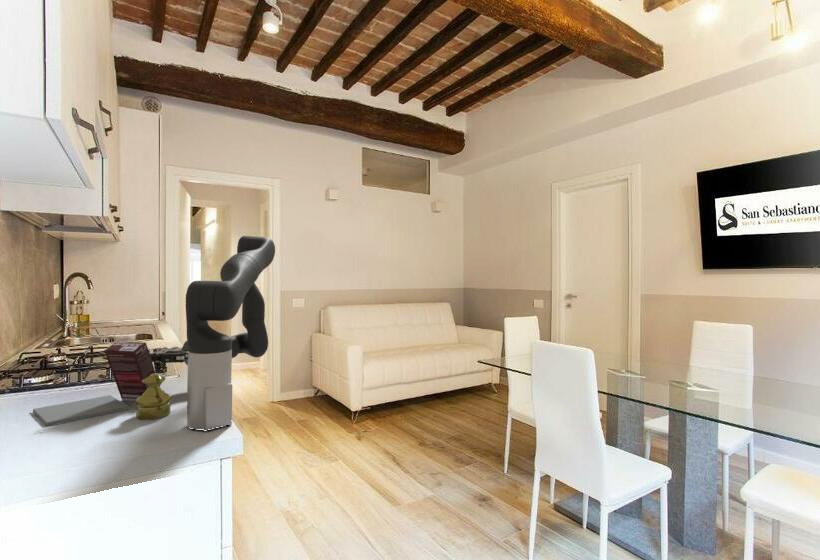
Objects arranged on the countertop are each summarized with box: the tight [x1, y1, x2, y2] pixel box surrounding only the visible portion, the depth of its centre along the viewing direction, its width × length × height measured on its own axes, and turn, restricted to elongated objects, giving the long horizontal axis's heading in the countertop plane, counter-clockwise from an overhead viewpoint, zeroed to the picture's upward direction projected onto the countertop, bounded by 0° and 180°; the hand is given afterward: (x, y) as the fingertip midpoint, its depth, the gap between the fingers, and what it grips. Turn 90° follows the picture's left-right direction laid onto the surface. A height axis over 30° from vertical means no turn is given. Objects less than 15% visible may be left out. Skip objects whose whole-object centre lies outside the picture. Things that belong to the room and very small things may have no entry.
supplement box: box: [104, 341, 156, 402], centre depth 113 cm, size 9×5×16 cm, turn 84°
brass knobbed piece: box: [135, 373, 172, 420], centre depth 104 cm, size 7×7×10 cm
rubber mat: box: [32, 394, 129, 427], centre depth 106 cm, size 14×16×1 cm
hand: (139, 359), depth 115 cm, fingers closed
